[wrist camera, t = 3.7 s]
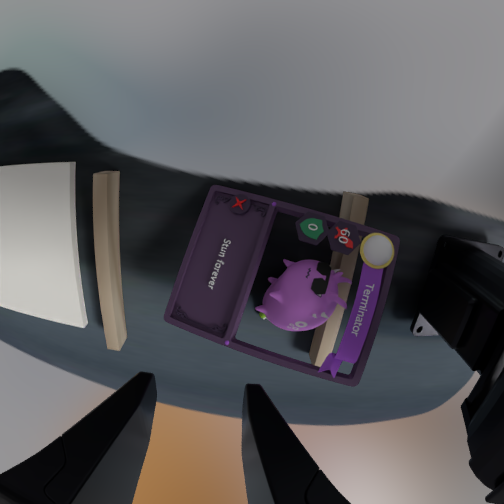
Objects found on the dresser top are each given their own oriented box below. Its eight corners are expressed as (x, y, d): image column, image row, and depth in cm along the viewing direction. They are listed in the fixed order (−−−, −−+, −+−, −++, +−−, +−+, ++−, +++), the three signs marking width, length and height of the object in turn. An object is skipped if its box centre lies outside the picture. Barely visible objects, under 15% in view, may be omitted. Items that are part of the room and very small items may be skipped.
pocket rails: (357, 193, 14) (368, 198, 13) (321, 354, 18) (326, 369, 16) (106, 170, 14) (93, 173, 12) (115, 334, 17) (107, 348, 16)
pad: (75, 161, 13) (70, 162, 13) (87, 323, 17) (84, 328, 16) (-20, 168, 13) (-26, 169, 12) (-3, 300, 16) (-7, 304, 16)
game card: (207, 176, 13) (406, 232, 11) (232, 213, 18) (377, 256, 16) (154, 320, 12) (360, 392, 10) (195, 319, 17) (342, 369, 15)
